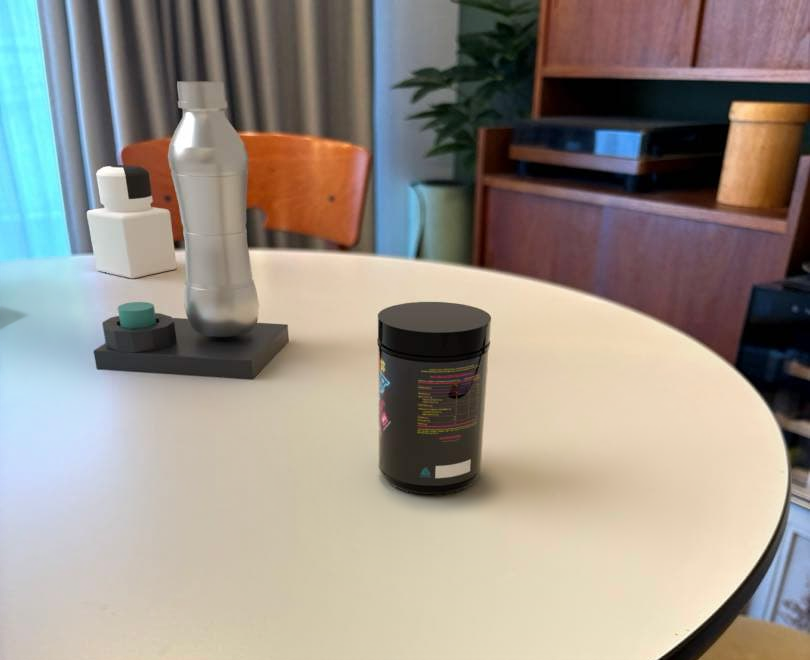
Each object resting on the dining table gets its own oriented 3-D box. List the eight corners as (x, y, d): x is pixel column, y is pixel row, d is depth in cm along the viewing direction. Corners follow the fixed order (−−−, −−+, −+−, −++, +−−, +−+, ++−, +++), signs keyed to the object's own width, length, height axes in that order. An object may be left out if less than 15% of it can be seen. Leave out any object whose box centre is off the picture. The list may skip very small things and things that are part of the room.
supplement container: (443, 446, 58) (448, 296, 53) (502, 483, 53) (515, 322, 48) (359, 467, 55) (356, 310, 50) (414, 509, 50) (417, 339, 45)
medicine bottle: (141, 261, 108) (127, 161, 102) (178, 269, 105) (165, 166, 99) (95, 271, 103) (77, 166, 97) (132, 279, 100) (115, 171, 94)
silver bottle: (233, 320, 79) (211, 80, 69) (276, 335, 75) (259, 82, 64) (173, 333, 75) (140, 80, 65) (215, 350, 71) (187, 83, 61)
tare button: (114, 330, 71) (111, 309, 70) (130, 320, 73) (127, 301, 72) (148, 332, 70) (144, 311, 69) (162, 322, 73) (159, 302, 72)
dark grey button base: (96, 369, 71) (89, 329, 69) (149, 333, 81) (144, 297, 79) (252, 380, 69) (249, 339, 68) (289, 341, 79) (286, 304, 77)
